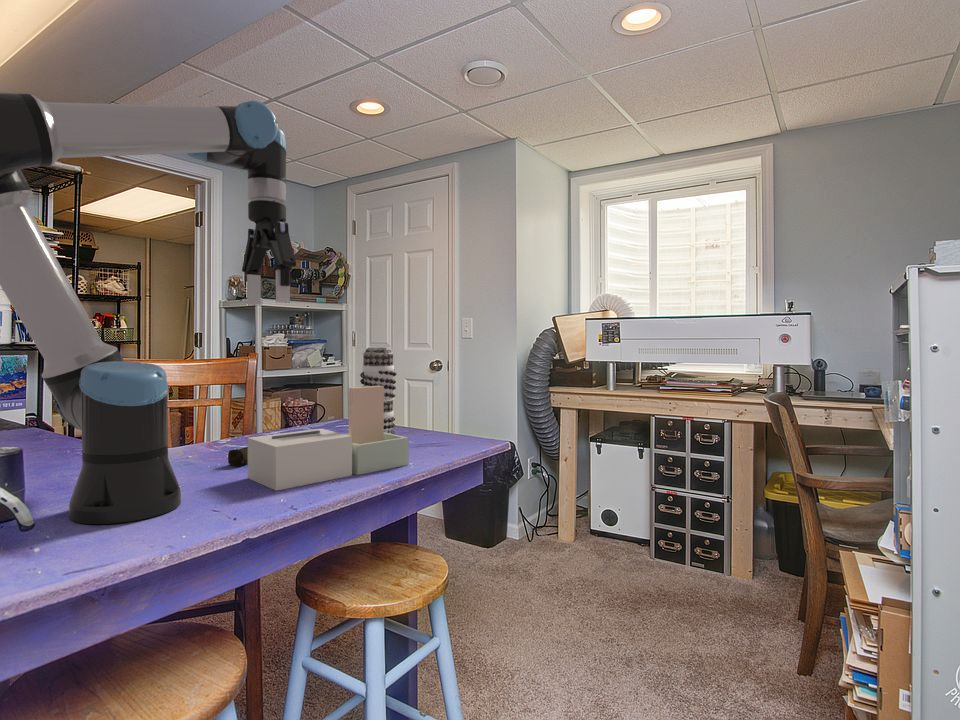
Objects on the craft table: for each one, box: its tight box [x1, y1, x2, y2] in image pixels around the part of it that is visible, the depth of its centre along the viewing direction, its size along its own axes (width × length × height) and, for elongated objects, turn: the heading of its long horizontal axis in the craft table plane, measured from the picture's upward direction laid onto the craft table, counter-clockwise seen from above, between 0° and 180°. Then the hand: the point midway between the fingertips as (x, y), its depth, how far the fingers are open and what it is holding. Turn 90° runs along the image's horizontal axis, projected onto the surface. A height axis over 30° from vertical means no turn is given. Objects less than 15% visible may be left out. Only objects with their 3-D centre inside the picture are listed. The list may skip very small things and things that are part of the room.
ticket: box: [348, 386, 384, 444], centre depth 122 cm, size 8×2×16 cm, turn 136°
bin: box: [345, 432, 410, 476], centre depth 123 cm, size 13×13×6 cm
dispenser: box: [247, 428, 353, 491], centre depth 111 cm, size 16×12×8 cm
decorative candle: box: [359, 347, 398, 435], centre depth 144 cm, size 9×9×25 cm
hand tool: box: [227, 446, 248, 468], centre depth 128 cm, size 19×4×5 cm, turn 159°
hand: (267, 303), depth 120 cm, fingers open, 13 cm apart
